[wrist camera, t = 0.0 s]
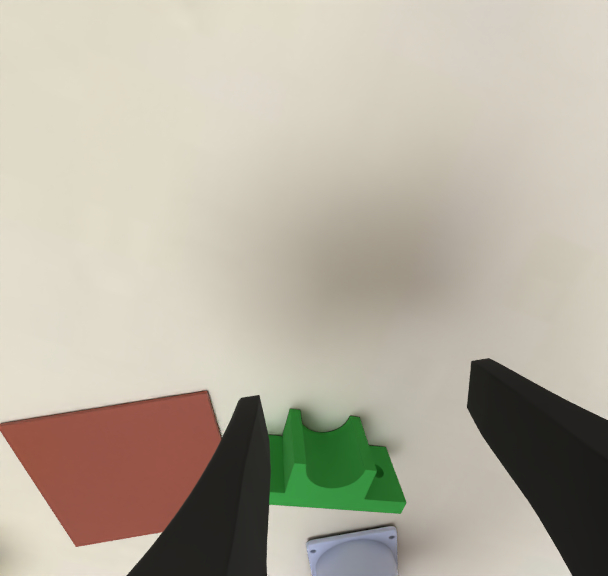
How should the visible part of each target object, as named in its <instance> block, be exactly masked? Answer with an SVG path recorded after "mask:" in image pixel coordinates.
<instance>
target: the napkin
mask: <svg viewBox="0 0 608 576" xmlns="http://www.w3.org/2000/svg"><path fill="white" fill-rule="evenodd" d="M0 431H1V433H2V434H3V436H4V437H5V439H6V440H7V442H8V444H9V445H10V447H11V448H12V450H13V451H14V453H15V454H16V456H17V457H18V459H19V460H20V462H21V463H22V465H23V466H24V468H25V470H26V471H27V473H28V474H29V476H30V477H31V479H32V480H33V482H34V483H35V485H36V486H37V488H38V489H39V491H40V492H41V494H42V496H43V497H44V499H45V500H46V502H47V503H48V505H49V506H50V508H51V509H52V511H53V512H54V514H55V515H56V517H57V518H58V520H59V522H60V523H61V525H62V526H63V528H64V529H65V531H66V532H67V534H68V535H69V537H70V538H71V540H72V541H73V543H74V544H75V546H76V547H78V546H84V545H90V544H96V543H101V542H107V541H113V540H119V539H125V538H130V537H136V536H142V535H148V534H154V533H159V532H163V531H164V530H165V528H166V527H167V526H168V524H169V523H170V522H171V520H172V519H173V518H174V516H175V515H176V513H177V512H178V511H179V509H180V508H181V506H182V505H183V503H184V502H185V500H186V499H187V498H188V496H189V494H190V493H191V491H192V490H193V488H194V487H195V485H196V484H197V482H198V480H199V479H200V477H201V475H202V474H203V472H204V470H205V468H206V467H207V465H208V463H209V461H210V460H211V458H212V456H213V454H214V453H215V451H216V449H217V447H218V445H219V443H220V441H221V439H222V438H221V435H220V431H219V428H218V425H217V421H216V418H215V415H214V412H213V408H212V405H211V402H210V398H209V395H208V392H207V391H202V392H196V393H190V394H183V395H177V396H171V397H165V398H158V399H152V400H146V401H139V402H133V403H127V404H121V405H114V406H108V407H102V408H95V409H89V410H83V411H76V412H70V413H64V414H58V415H51V416H45V417H39V418H32V419H26V420H20V421H14V422H7V423H1V424H0Z"/></svg>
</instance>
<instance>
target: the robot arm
mask: <svg viewBox="0 0 608 576" xmlns="http://www.w3.org/2000/svg"><path fill="white" fill-rule="evenodd" d="M467 408H468V410H469V412H470V414H471V416H472V418H473V420H474V422H475V424H476V426H477V427H478V429H479V431H480V433H481V435H482V436H483V438H484V439H485V441H486V442H487V443H488V445H489V446H490V448H491V449H492V451H493V452H494V453H495V455H496V456H497V458H498V459H499V461H500V462H501V463H502V465H503V466H504V468H505V469H506V470H507V472H508V473H509V475H510V476H511V477H512V479H513V480H514V482H515V483H516V484H517V486H518V487H519V489H520V490H521V491H522V493H523V494H524V496H525V497H526V498H527V500H528V501H529V503H530V504H531V506H532V507H533V509H534V510H535V512H536V514H537V515H538V517H539V518H540V520H541V522H542V523H543V525H544V527H545V529H546V530H547V532H548V534H549V535H550V537H551V539H552V540H553V542H554V544H555V546H556V547H557V549H558V551H559V553H560V554H561V556H562V558H563V560H564V562H565V563H566V565H567V567H568V569H569V570H570V572H571V574H572V576H608V420H606V419H604V418H602V417H600V416H598V415H596V414H594V413H592V412H589V411H587V410H585V409H583V408H581V407H579V406H577V405H575V404H573V403H571V402H569V401H567V400H565V399H563V398H561V397H560V396H558V395H556V394H554V393H552V392H550V391H548V390H546V389H545V388H543V387H541V386H539V385H537V384H535V383H534V382H532V381H530V380H528V379H526V378H525V377H523V376H521V375H519V374H517V373H516V372H514V371H512V370H510V369H508V368H507V367H505V366H503V365H501V364H499V363H497V362H495V361H493V360H491V359H489V358H488V359H481V360H475V361H471V371H470V381H469V392H468V402H467ZM270 479H271V462H270V442H269V436H268V432H267V427H266V423H265V418H264V414H263V409H262V405H261V400H260V396H259V395H257V396H250V397H244V398H241V399H240V400H239V401H238V403H237V406H236V408H235V411H234V413H233V416H232V418H231V420H230V422H229V425H228V427H227V429H226V431H225V433H224V435H223V437H222V439H221V441H220V443H219V445H218V447H217V449H216V451H215V453H214V454H213V456H212V458H211V460H210V461H209V463H208V465H207V467H206V468H205V470H204V472H203V474H202V475H201V477H200V479H199V480H198V482H197V484H196V485H195V487H194V488H193V490H192V491H191V493H190V494H189V496H188V498H187V499H186V500H185V502H184V503H183V505H182V506H181V508H180V509H179V511H178V512H177V513H176V515H175V516H174V518H173V519H172V520H171V522H170V523H169V524H168V526H167V527H166V528H165V530H164V531H163V532H162V534H161V535H160V536H159V538H158V539H157V540H156V541H155V543H154V544H153V545H152V546H151V548H150V549H149V550H148V551H147V552H146V554H145V555H144V556H143V557H142V558H141V559H140V561H139V562H138V563H137V564H136V565H135V567H134V568H133V569H132V570H131V571H130V572H129V574H128V575H127V576H267V566H266V559H267V533H268V515H269V498H270ZM306 546H307V552H308V557H309V562H310V567H311V573H312V576H399V573H398V563H397V531H396V528H395V527H394V526H388V527H382V528H377V529H371V530H365V531H359V532H354V533H348V534H342V535H337V536H331V537H325V538H320V539H314V540H310V541H308V542H307V544H306Z"/></svg>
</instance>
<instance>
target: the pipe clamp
mask: <svg viewBox="0 0 608 576" xmlns="http://www.w3.org/2000/svg"><path fill="white" fill-rule="evenodd" d="M268 436H269V442H270V462H271V479H270V498H269V505H284V506H298V507H312V508H326V509H341V510H355V511H369V512H383V513H398V514H401V512H402V510H403V508H404V507H405V505H406V503H407V502H406V500H405V497H404V494H403V492H402V489H401V486H400V484H399V481H398V478H397V476H396V473H395V470H394V468H393V465H392V462H391V460H390V457H389V454H388V451H387V449H386V447H380V446H371V445H368V442H367V439H366V436H365V432H364V429H363V426H362V423H361V420H360V417H354V416H350V417H349V419H348V421H347V422H346V423H345V424H344V425H343V426H342V427H340V428H338V429H336V430H334V431H331V432H323V433H322V432H315V431H312V430H309V429H308V428H306V427H305V426H304V425H303V424H302V420H301V412H300V410H296V409H290V411H289V414H288V418H287V421H286V425H285V428H284V431H283V435H282V436H276V435H268Z"/></svg>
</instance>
